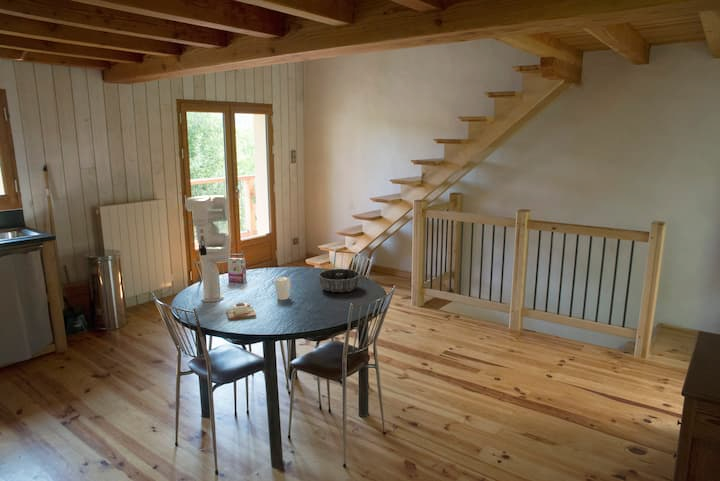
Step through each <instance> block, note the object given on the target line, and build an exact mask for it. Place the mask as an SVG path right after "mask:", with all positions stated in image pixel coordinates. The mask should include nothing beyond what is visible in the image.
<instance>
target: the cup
mask: <svg viewBox="0 0 720 481" xmlns="http://www.w3.org/2000/svg"><path fill="white" fill-rule="evenodd" d="M274 286H275V290H276V296H277V299H278V300H280V301H285V300H288V299H290V290H291V278H290V277H288V276H279V277H276V278H275V279H274Z"/></svg>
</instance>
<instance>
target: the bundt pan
mask: <svg viewBox="0 0 720 481" xmlns="http://www.w3.org/2000/svg"><path fill="white" fill-rule="evenodd" d="M317 275H318V278H319V283H320V286H321V288H322V289H323V290H325V291H327V292H329V291H331V292H332V293H333V292H334V293H337V292H340V293H344V292H345V293H346V292H352V291H353V290H352V289H354V290H355V289H357V287H358V285H359V281H360V276H361V273H360V272H359V271H357V270H356V269H349V268H331V269H327V270H323V271H320V273H318V274H317Z"/></svg>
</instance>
